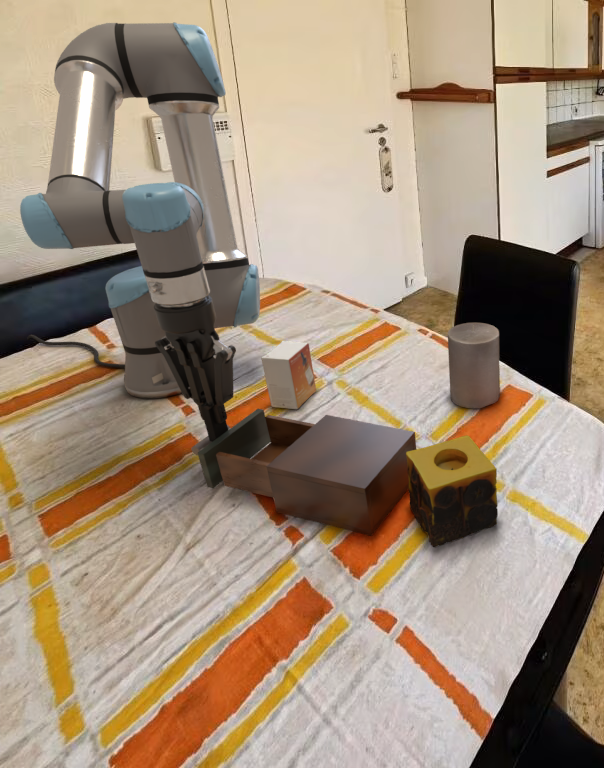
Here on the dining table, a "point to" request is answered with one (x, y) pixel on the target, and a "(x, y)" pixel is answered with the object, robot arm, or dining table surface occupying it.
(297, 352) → the small box
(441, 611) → the dining table surface
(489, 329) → the grey upright cylinder
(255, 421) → the drawer
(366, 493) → the cabinet
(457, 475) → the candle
